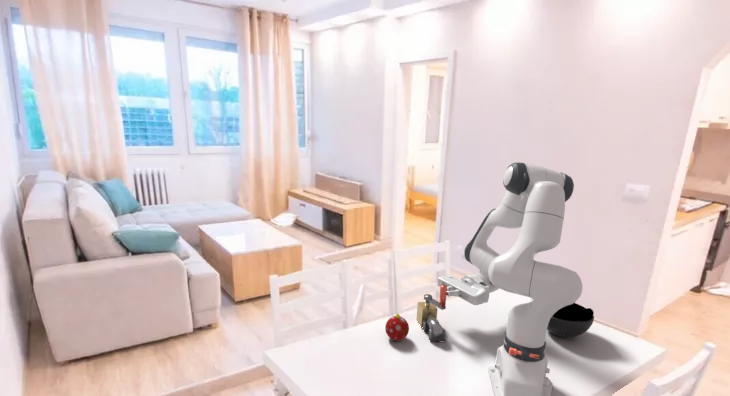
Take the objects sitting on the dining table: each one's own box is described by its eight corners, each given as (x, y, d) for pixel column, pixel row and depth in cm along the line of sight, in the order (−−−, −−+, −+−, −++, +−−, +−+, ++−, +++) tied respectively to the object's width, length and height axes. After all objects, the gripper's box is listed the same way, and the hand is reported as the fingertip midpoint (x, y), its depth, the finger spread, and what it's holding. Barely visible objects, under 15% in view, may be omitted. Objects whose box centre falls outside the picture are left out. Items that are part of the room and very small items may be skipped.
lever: (422, 299, 149) (423, 277, 147) (428, 298, 151) (430, 275, 149) (440, 311, 140) (442, 287, 138) (447, 310, 142) (449, 286, 140)
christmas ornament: (391, 347, 134) (392, 321, 132) (381, 334, 141) (382, 310, 139) (412, 343, 137) (414, 317, 135) (401, 330, 145) (403, 306, 143)
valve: (416, 320, 153) (418, 298, 151) (430, 319, 154) (432, 297, 152) (430, 343, 137) (432, 319, 135) (446, 342, 138) (448, 318, 136)
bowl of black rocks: (581, 325, 155) (588, 282, 151) (597, 352, 136) (605, 304, 132) (529, 316, 160) (534, 275, 156) (537, 342, 141) (543, 295, 137)
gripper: (452, 269, 156) (427, 275, 149) (493, 288, 139) (466, 296, 132) (451, 283, 158) (426, 290, 150) (491, 304, 141) (465, 312, 133)
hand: (445, 293), depth 141 cm, fingers closed, pressing on lever
